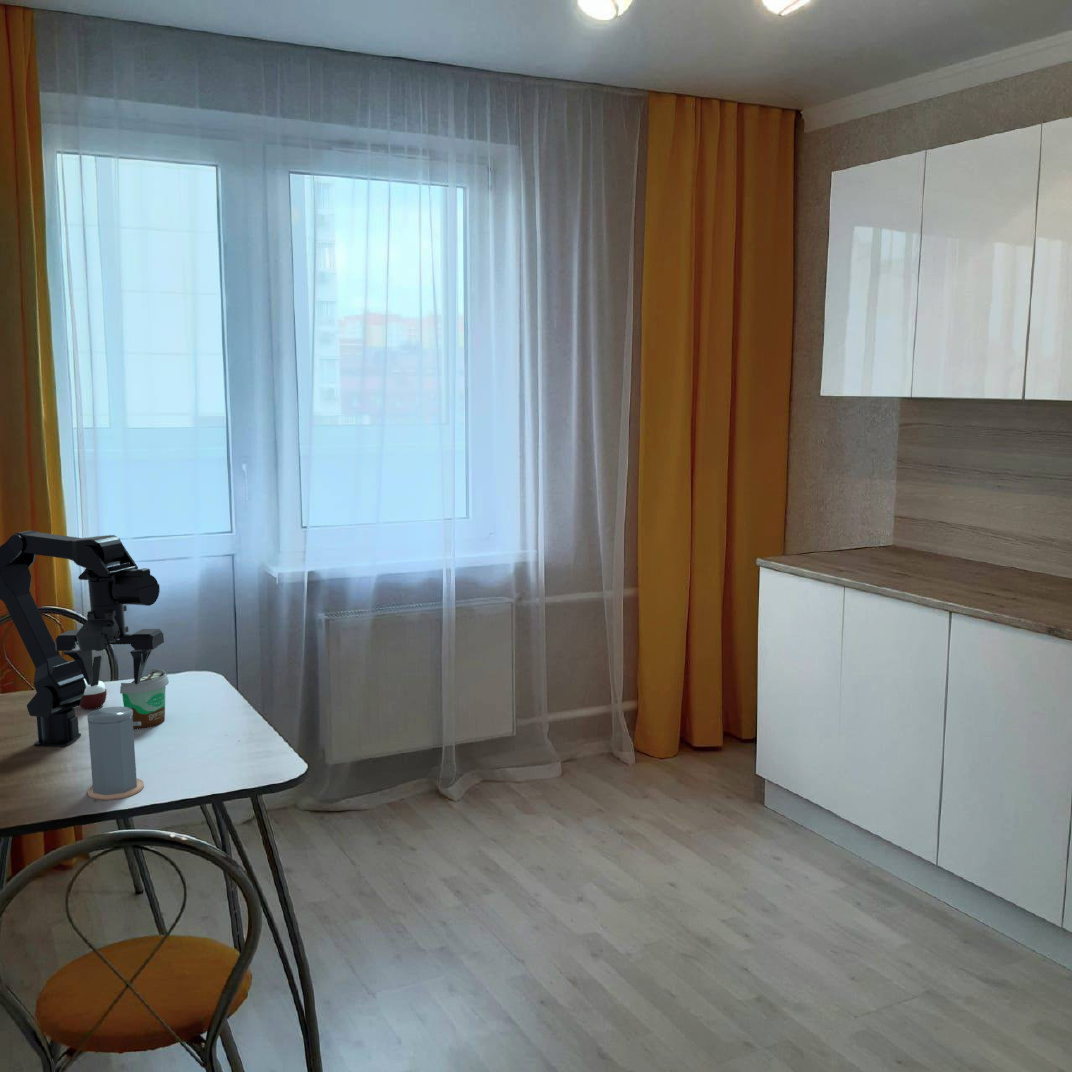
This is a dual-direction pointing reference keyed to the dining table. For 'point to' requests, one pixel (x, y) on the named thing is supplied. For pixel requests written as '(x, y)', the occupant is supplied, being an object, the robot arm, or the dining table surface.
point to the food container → (146, 699)
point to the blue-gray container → (112, 750)
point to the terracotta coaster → (117, 796)
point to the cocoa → (94, 689)
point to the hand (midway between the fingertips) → (113, 684)
